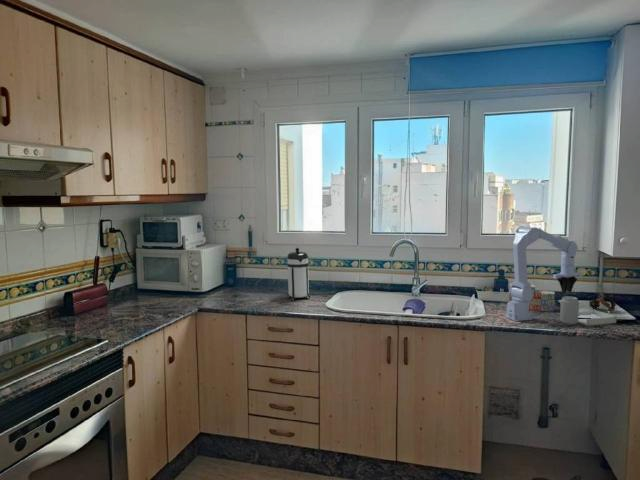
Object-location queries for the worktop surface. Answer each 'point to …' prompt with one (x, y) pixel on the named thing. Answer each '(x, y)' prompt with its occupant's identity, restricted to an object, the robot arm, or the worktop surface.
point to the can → (569, 310)
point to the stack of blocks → (540, 300)
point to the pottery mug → (595, 303)
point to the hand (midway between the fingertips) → (566, 292)
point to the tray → (596, 321)
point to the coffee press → (298, 274)
